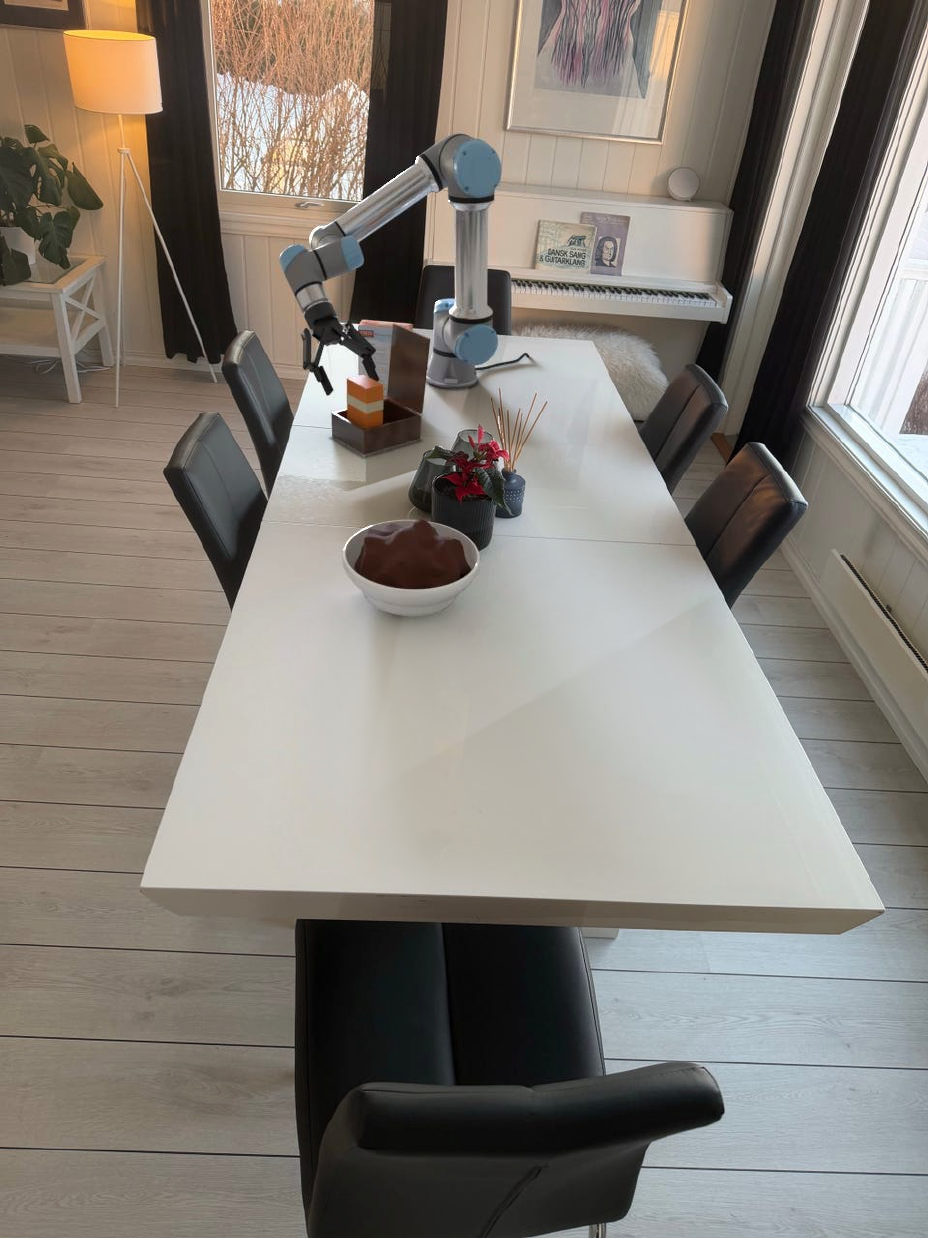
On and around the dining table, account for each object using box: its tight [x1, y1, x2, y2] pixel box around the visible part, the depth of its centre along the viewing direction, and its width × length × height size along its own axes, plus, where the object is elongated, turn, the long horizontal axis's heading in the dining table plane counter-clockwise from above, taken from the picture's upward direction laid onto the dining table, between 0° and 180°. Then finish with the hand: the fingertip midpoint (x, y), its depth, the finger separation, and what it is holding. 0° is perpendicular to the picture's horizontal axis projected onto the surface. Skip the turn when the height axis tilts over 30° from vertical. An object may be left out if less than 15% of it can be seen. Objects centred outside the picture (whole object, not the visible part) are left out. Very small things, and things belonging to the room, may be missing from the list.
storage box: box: [330, 399, 422, 456], centre depth 213 cm, size 18×14×7 cm
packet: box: [346, 375, 383, 430], centre depth 208 cm, size 5×8×15 cm, turn 42°
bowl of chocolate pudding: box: [341, 518, 482, 617], centre depth 154 cm, size 25×25×15 cm
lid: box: [387, 322, 431, 415], centre depth 211 cm, size 18×14×1 cm
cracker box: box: [357, 319, 414, 406], centre depth 230 cm, size 14×6×21 cm, turn 84°
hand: (353, 387), depth 208 cm, fingers open, 13 cm apart
